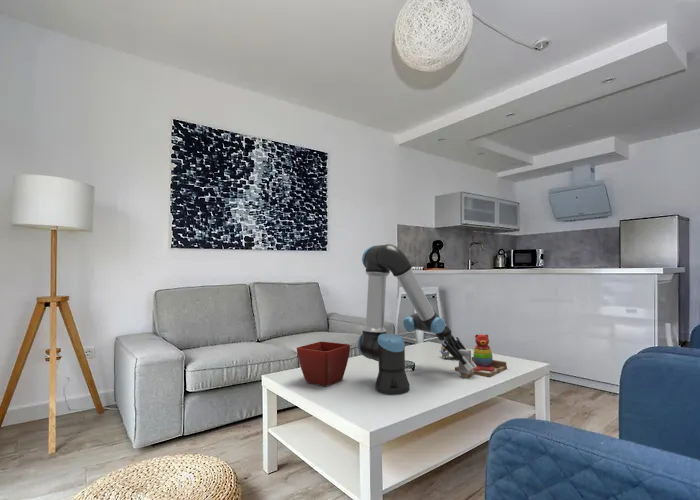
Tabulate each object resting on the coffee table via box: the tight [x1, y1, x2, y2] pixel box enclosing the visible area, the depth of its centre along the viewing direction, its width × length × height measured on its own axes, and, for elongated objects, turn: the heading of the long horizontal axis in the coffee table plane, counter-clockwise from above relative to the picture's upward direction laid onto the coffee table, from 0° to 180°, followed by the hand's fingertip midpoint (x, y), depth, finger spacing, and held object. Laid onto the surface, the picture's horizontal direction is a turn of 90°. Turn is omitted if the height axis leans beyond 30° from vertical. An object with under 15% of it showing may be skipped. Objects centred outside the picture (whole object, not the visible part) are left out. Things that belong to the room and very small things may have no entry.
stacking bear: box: [472, 334, 496, 373], centre depth 194 cm, size 11×10×18 cm
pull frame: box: [454, 349, 508, 379], centre depth 189 cm, size 28×18×12 cm, turn 135°
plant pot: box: [296, 341, 351, 387], centre depth 180 cm, size 19×19×17 cm
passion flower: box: [439, 344, 457, 361], centre depth 218 cm, size 11×11×12 cm
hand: (472, 368), depth 178 cm, fingers closed on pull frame, 3 cm apart
